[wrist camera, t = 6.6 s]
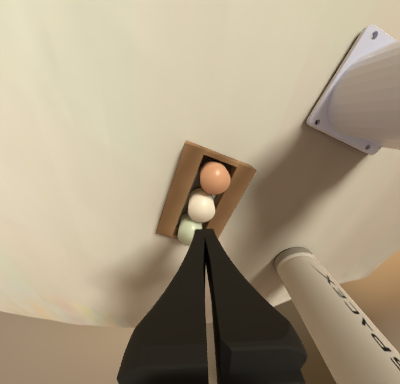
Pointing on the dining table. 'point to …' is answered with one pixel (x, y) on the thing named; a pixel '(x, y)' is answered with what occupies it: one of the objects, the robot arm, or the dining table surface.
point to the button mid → (201, 205)
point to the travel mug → (337, 323)
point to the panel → (183, 183)
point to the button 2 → (214, 177)
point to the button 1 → (187, 229)
